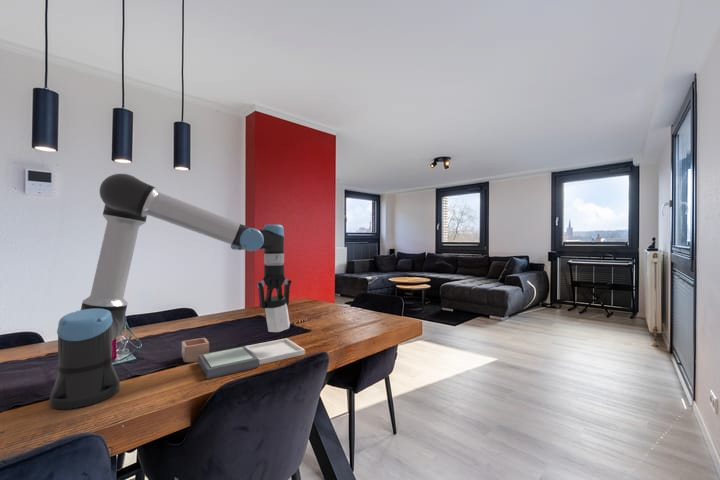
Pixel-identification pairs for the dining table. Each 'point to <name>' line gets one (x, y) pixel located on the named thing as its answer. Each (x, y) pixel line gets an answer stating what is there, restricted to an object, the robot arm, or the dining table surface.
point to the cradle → (227, 366)
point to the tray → (275, 350)
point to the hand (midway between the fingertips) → (274, 324)
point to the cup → (194, 349)
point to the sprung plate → (226, 357)
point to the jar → (277, 314)
